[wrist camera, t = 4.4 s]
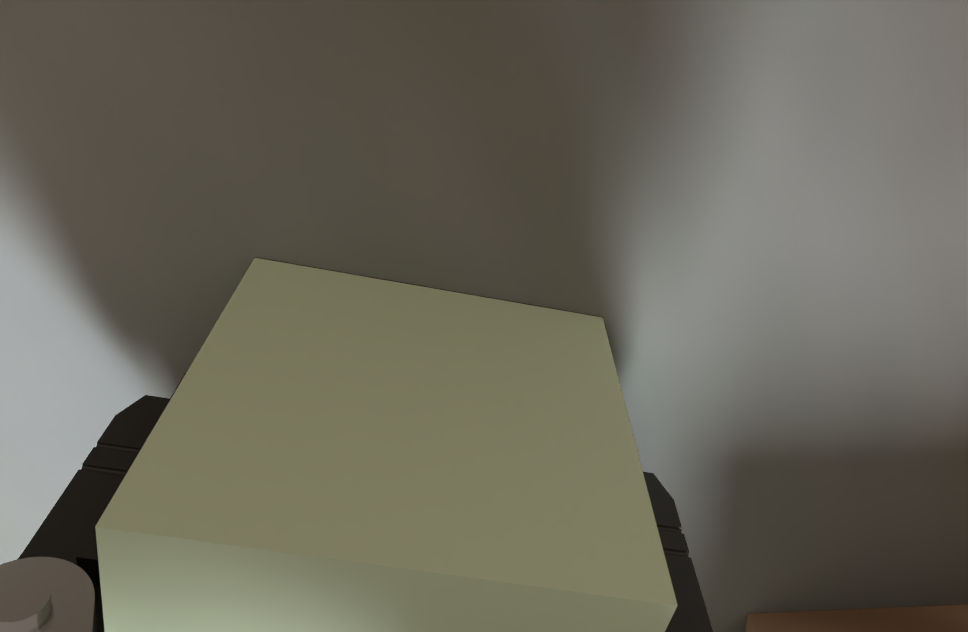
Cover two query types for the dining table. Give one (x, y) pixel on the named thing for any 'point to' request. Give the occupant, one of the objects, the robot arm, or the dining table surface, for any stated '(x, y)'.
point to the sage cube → (387, 472)
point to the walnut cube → (864, 620)
